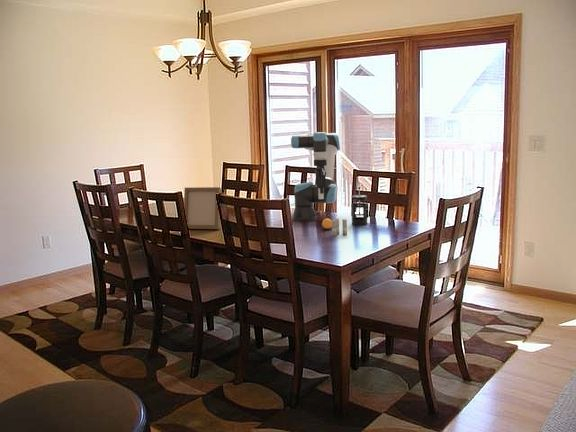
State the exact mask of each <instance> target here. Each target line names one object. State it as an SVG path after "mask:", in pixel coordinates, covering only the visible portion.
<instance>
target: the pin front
mask: <svg viewBox="0 0 576 432" xmlns="http://www.w3.org/2000/svg"><path fill="white" fill-rule="evenodd" d="M334 220H337V235H340V219H339V218H338V217H337V218H334Z"/></svg>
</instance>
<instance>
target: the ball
mask: <svg viewBox="0 0 576 432" xmlns="http://www.w3.org/2000/svg"><path fill="white" fill-rule="evenodd" d="M321 222H322V223H321V225H322V227H323V228H324V229H326V230H328V229H332V220H331V219H330V218H324V219H323V221H321Z"/></svg>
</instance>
